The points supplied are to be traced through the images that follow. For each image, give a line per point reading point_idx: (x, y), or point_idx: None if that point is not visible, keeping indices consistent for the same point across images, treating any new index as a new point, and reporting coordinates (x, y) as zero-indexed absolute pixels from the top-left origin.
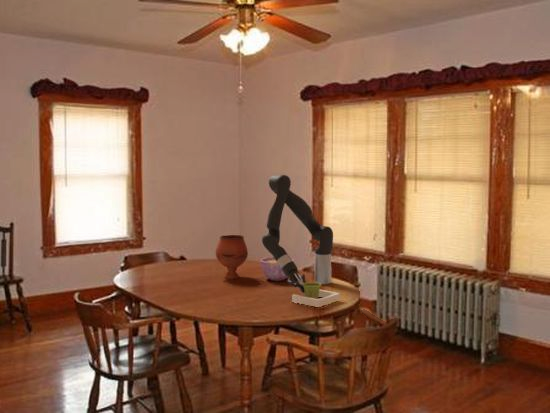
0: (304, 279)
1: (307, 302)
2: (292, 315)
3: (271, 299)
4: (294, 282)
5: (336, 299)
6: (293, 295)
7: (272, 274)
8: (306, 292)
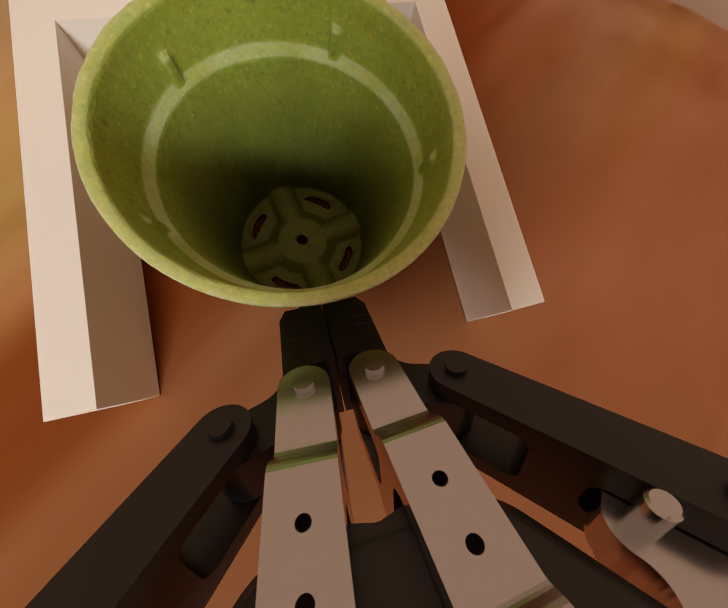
0: (134, 520)
1: None
2: (657, 61)
3: None
4: (555, 398)
5: None
6: (532, 283)
7: None
8: (395, 197)
